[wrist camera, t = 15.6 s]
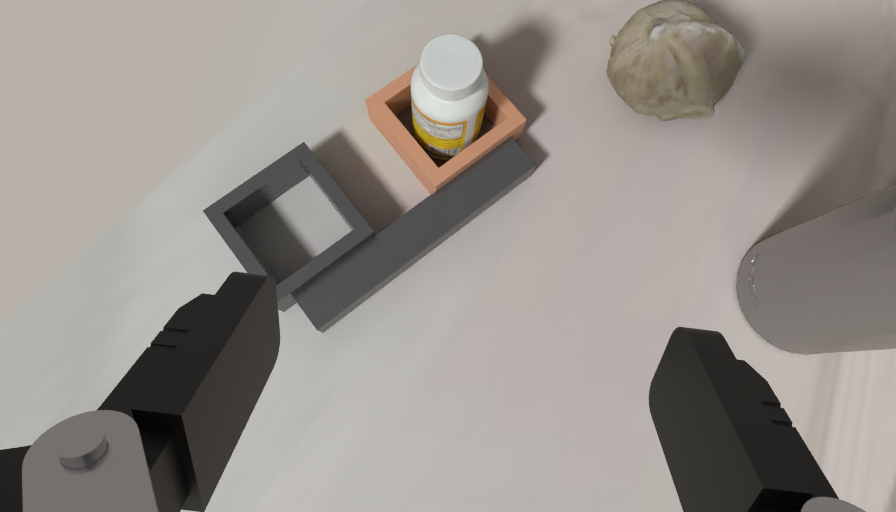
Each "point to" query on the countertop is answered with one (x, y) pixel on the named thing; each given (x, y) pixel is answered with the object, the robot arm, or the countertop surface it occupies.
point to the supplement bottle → (448, 96)
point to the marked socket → (384, 118)
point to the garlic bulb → (673, 61)
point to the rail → (362, 228)
